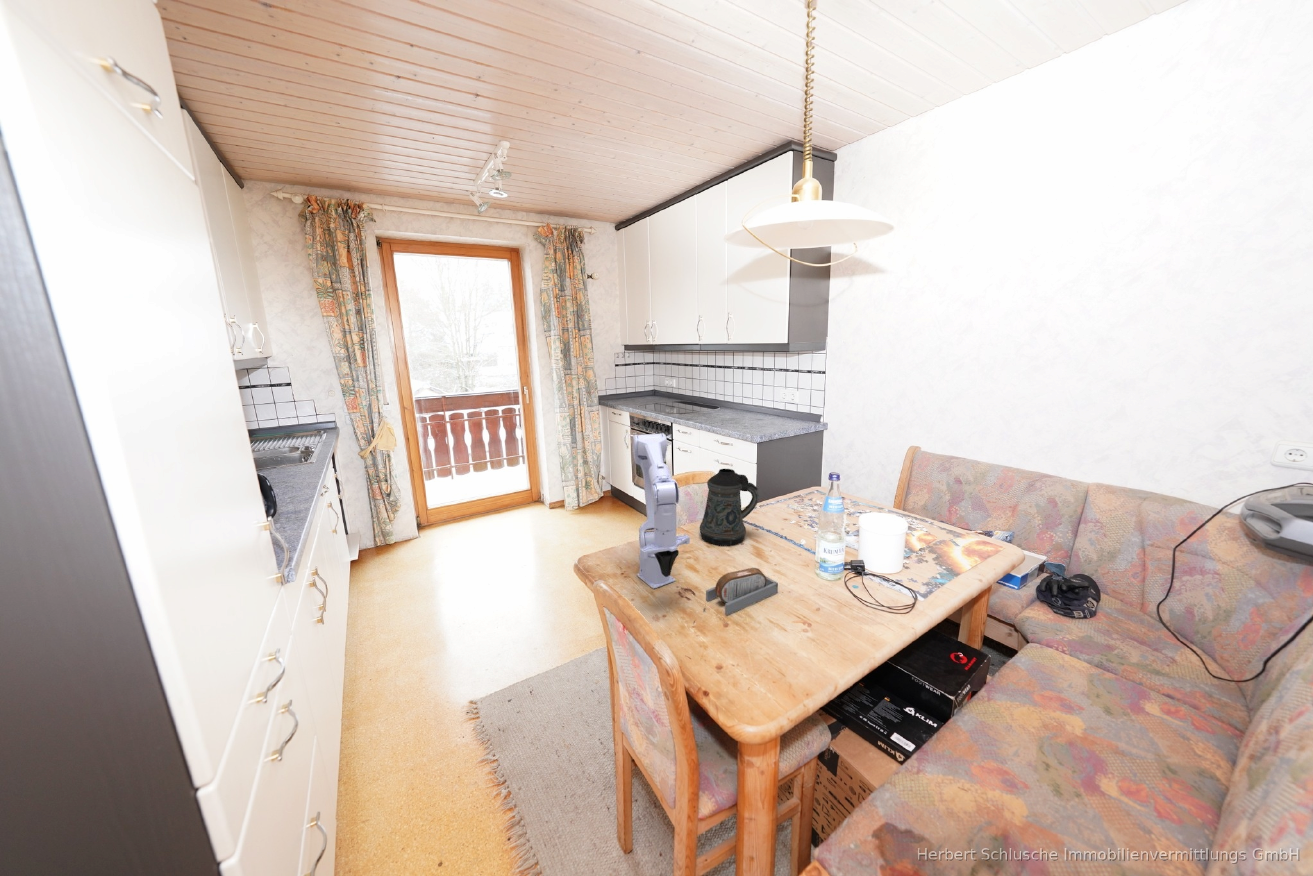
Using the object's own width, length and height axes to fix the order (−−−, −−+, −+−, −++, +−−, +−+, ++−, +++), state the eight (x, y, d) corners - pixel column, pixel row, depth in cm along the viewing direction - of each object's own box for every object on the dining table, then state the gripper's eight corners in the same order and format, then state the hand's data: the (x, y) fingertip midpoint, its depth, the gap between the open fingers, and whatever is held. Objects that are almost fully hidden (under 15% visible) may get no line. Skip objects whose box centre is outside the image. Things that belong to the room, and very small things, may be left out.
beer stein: (692, 531, 170) (692, 466, 165) (739, 523, 176) (741, 461, 170) (710, 550, 155) (711, 479, 149) (761, 541, 160) (764, 473, 155)
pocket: (705, 600, 125) (706, 590, 125) (755, 579, 135) (755, 570, 135) (727, 615, 118) (727, 605, 118) (777, 592, 128) (778, 583, 128)
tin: (761, 590, 130) (762, 563, 128) (767, 596, 127) (769, 568, 125) (714, 602, 125) (714, 574, 123) (719, 608, 122) (720, 579, 120)
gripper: (650, 539, 111) (651, 590, 114) (697, 525, 119) (696, 572, 122) (635, 529, 116) (636, 578, 119) (680, 516, 124) (680, 562, 127)
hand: (665, 574), depth 121 cm, fingers closed
